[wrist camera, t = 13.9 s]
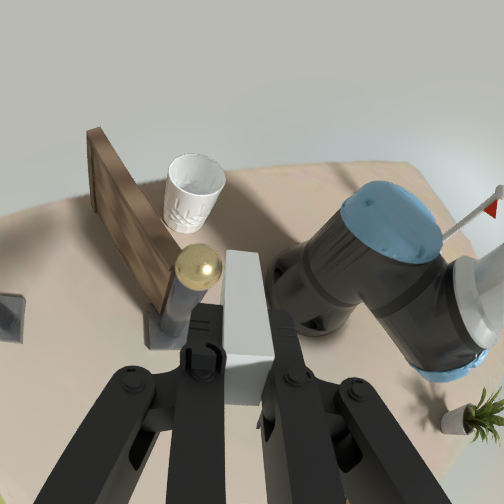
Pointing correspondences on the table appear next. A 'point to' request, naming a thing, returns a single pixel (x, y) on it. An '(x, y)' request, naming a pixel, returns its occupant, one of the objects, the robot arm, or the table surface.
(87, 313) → the table surface
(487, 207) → the flag stand
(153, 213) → the panel
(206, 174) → the white cup
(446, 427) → the house plant
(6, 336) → the gate posts
